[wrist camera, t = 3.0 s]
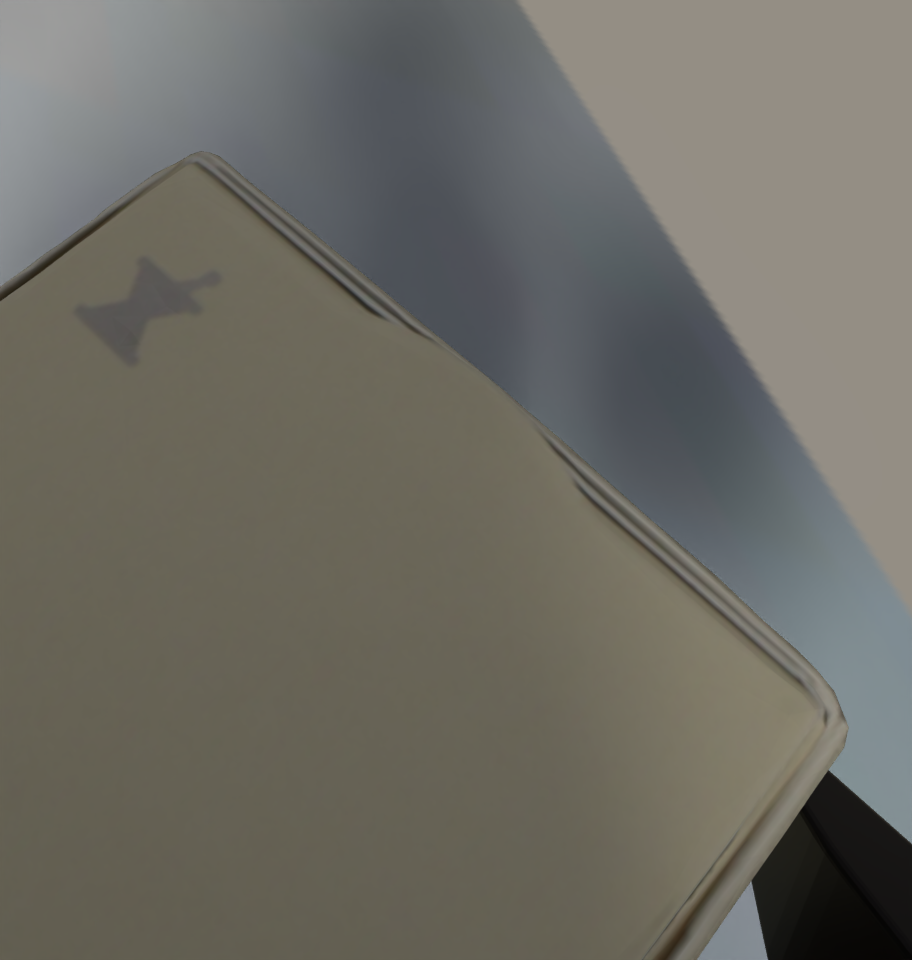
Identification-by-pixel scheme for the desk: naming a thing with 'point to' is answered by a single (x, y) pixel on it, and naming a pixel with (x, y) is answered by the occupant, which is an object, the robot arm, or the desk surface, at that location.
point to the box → (345, 631)
